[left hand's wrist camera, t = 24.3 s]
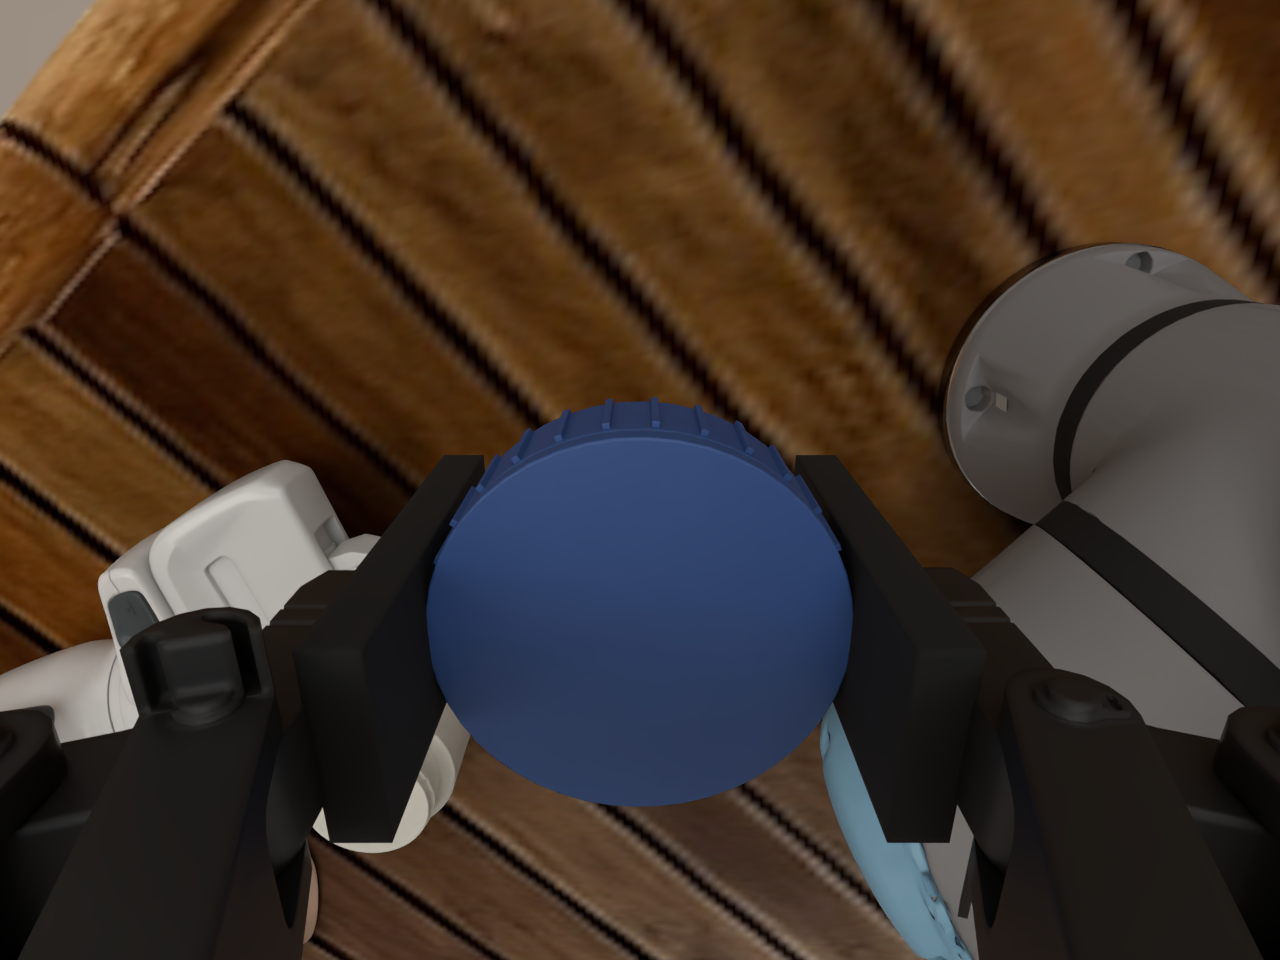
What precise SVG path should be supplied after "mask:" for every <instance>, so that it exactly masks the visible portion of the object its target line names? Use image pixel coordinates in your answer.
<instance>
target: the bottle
mask: <svg viewBox="0 0 1280 960" xmlns="http://www.w3.org/2000/svg"><path fill="white" fill-rule="evenodd" d="M469 737H470V734H469V733H468V731H467V730H466V729H465V728H464V727H463V726H462V725H461V723H460V722H459V720H458V719H457V717H456V716H455V714H454V713H453V711H452V710H451V708H450V707H449V705H448V704H447V703H446V706H445V708H444V711H443V713H442V716H441V718H440V721H439V724H438V726H437V729H436V731H435V734H434V737H433V739H432V742H431V744H430V747H429V750H428V752H427V755H426V757H425V760H424V762H423V765H422V768H421V770H420V773H419V775H418V778H417V781H416V783H415V786H414V788H413V791H412V793H411V796H410V799H409V801H408V804H407V806H406V809H405V812H404V814H403V817H402V819H401V822H400V825H399V827H398V830H397V832H396V835H395V837H394V840H393V843H334V844H336V845H338V846H340V847H343V848H346V849H349V850H353V851H357V852H364V853H381V852H388V851H392V850H395V849H398V848H401V847H403V846H405V845H407V844H408V843H410V842H411V841H413V840H414V839H415V838H416V837H417V836H418V835H419V834H420V833H421V832H422V830H423V829H424V827H425V825H427V823H428V821H429V820H430V818H431V817H432V816H433V815H434V814H436V813H437V812H438V811H439V810H440V809H441V808H442V807H443V806H444V805H445V804H446V802H447V801H448V800H449V798H450V796H451V794H452V792H453V789H454V785H455V782H456V779H457V776H458V773H459V769H460V766H461V763H462V760H463V757H464V753H465V750H466V747H467V744H468V741H469ZM313 828H314V829H315V830H316V831H317V832H318V833H319V834H320V835H321V836H323V837H324V838H326V839H327V840H329V836H328V831H327V826H326V821H325V816H324V811H323V808H322V810H321V812H320V814H319V815H318V817H317V819H316V821H315V823H314V825H313Z"/></svg>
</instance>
